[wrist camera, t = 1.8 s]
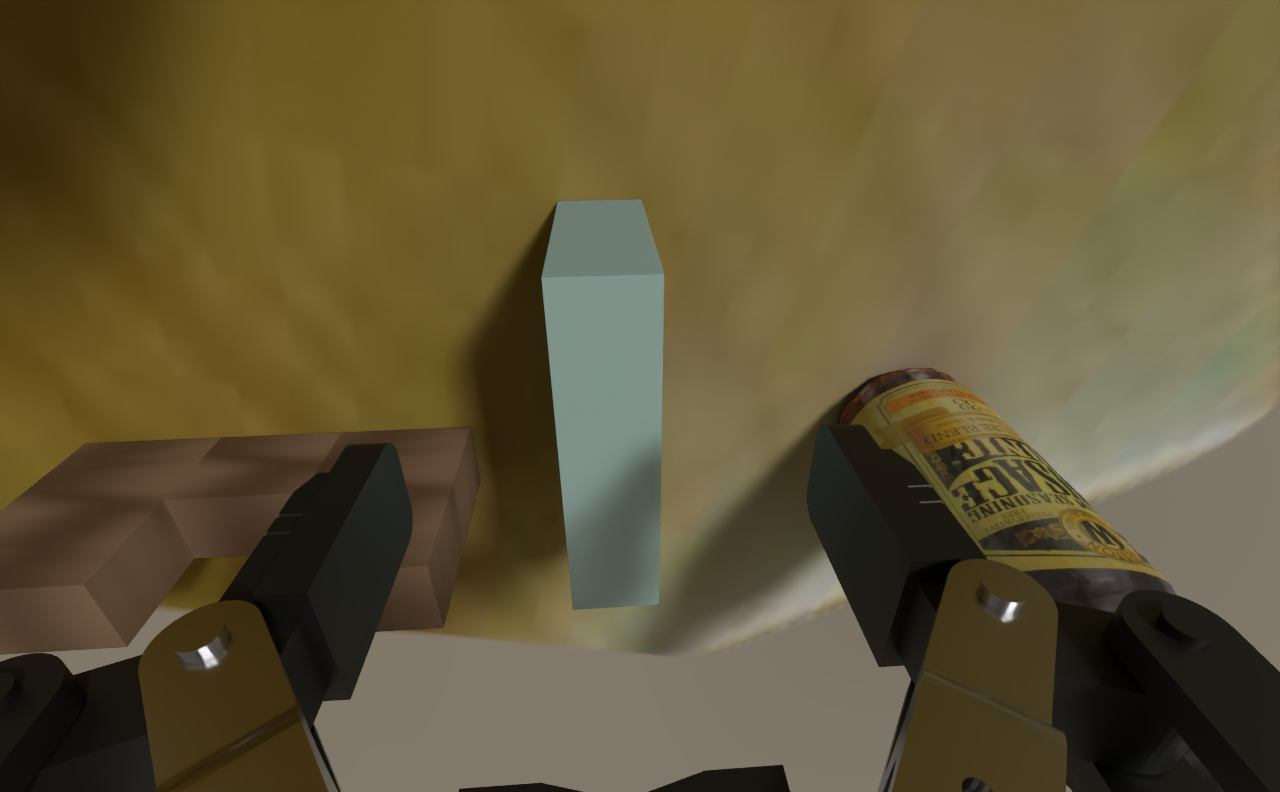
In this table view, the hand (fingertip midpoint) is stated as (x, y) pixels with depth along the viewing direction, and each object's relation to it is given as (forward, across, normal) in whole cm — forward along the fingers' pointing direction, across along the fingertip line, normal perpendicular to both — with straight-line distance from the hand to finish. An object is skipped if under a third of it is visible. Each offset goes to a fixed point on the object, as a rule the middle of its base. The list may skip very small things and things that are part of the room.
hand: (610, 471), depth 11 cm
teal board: (+13, 0, +4) cm, 13 cm away
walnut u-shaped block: (+13, +14, +9) cm, 21 cm away
